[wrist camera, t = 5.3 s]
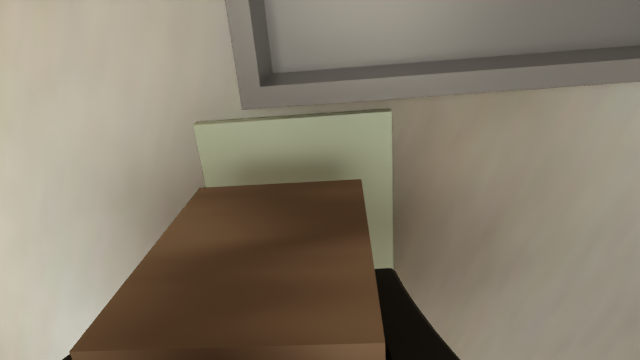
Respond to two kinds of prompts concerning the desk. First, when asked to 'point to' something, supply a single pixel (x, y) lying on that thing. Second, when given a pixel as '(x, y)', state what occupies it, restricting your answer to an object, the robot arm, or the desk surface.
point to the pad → (308, 159)
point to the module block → (251, 281)
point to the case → (426, 47)
